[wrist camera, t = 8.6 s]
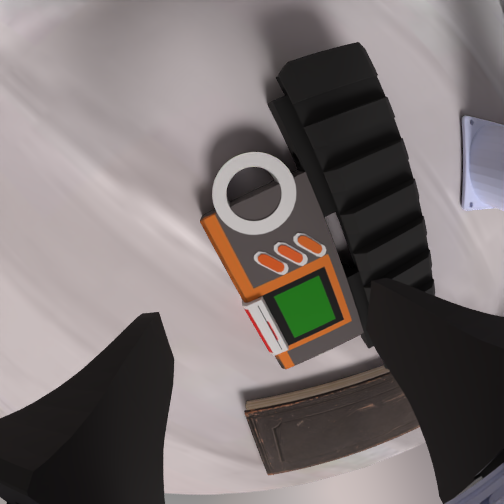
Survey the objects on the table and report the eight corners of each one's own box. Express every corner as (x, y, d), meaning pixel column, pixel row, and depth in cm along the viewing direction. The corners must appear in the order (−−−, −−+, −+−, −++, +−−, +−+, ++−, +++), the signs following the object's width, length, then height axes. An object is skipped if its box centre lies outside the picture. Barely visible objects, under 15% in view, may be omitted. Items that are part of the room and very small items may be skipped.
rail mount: (420, 305, 23) (451, 335, 18) (361, 339, 23) (385, 377, 19) (345, 57, 15) (382, 37, 10) (257, 88, 16) (270, 68, 11)
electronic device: (289, 132, 15) (366, 338, 19) (279, 136, 17) (352, 318, 22) (175, 186, 15) (283, 377, 20) (183, 181, 18) (277, 353, 23)
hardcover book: (242, 395, 25) (244, 413, 23) (448, 331, 25) (460, 342, 23) (266, 463, 31) (268, 477, 28) (421, 413, 31) (428, 424, 29)
